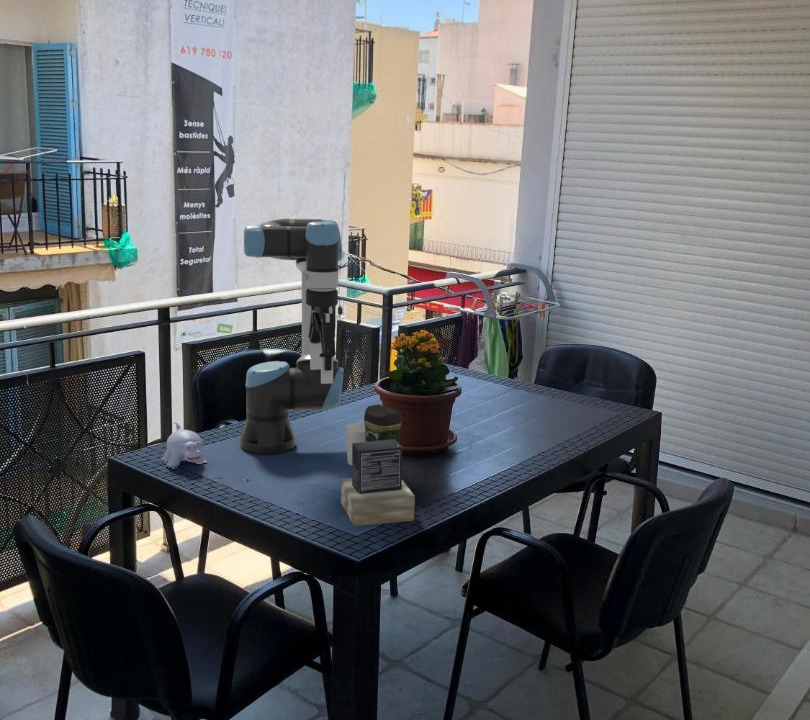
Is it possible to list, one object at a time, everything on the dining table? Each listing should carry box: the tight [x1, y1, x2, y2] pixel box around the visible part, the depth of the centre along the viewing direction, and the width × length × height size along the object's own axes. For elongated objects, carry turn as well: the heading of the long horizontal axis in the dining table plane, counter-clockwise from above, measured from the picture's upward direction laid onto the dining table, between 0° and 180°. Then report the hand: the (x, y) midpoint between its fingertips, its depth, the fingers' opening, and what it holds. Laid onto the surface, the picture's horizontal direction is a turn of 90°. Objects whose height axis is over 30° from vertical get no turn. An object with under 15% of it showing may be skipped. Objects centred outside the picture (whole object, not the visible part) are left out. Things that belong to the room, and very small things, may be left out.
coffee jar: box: [363, 404, 402, 444], centre depth 237 cm, size 10×8×19 cm
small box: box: [351, 439, 404, 494], centre depth 214 cm, size 11×6×10 cm, turn 109°
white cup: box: [345, 422, 365, 467], centre depth 247 cm, size 8×8×10 cm
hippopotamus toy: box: [161, 422, 208, 466], centre depth 243 cm, size 11×15×10 cm
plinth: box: [340, 477, 416, 527], centre depth 216 cm, size 14×14×6 cm
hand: (321, 376), depth 223 cm, fingers open, 13 cm apart
